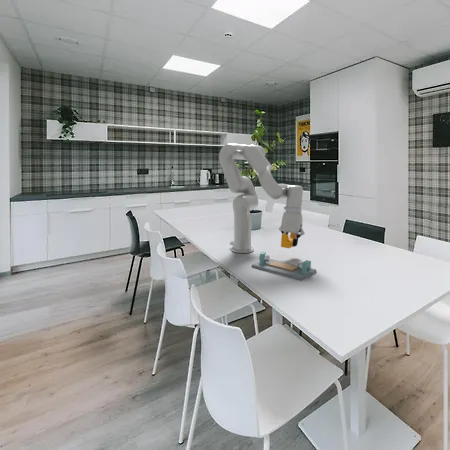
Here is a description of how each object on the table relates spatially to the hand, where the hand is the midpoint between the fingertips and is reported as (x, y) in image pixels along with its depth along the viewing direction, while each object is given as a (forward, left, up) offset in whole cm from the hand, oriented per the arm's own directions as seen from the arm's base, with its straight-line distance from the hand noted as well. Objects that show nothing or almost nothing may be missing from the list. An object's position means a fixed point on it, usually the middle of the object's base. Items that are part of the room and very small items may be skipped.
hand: (290, 244), depth 159 cm
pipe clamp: (0, 0, -1) cm, 1 cm away
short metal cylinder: (-3, -19, -5) cm, 20 cm away
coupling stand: (+7, -18, -7) cm, 21 cm away
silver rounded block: (+17, -18, -5) cm, 25 cm away
